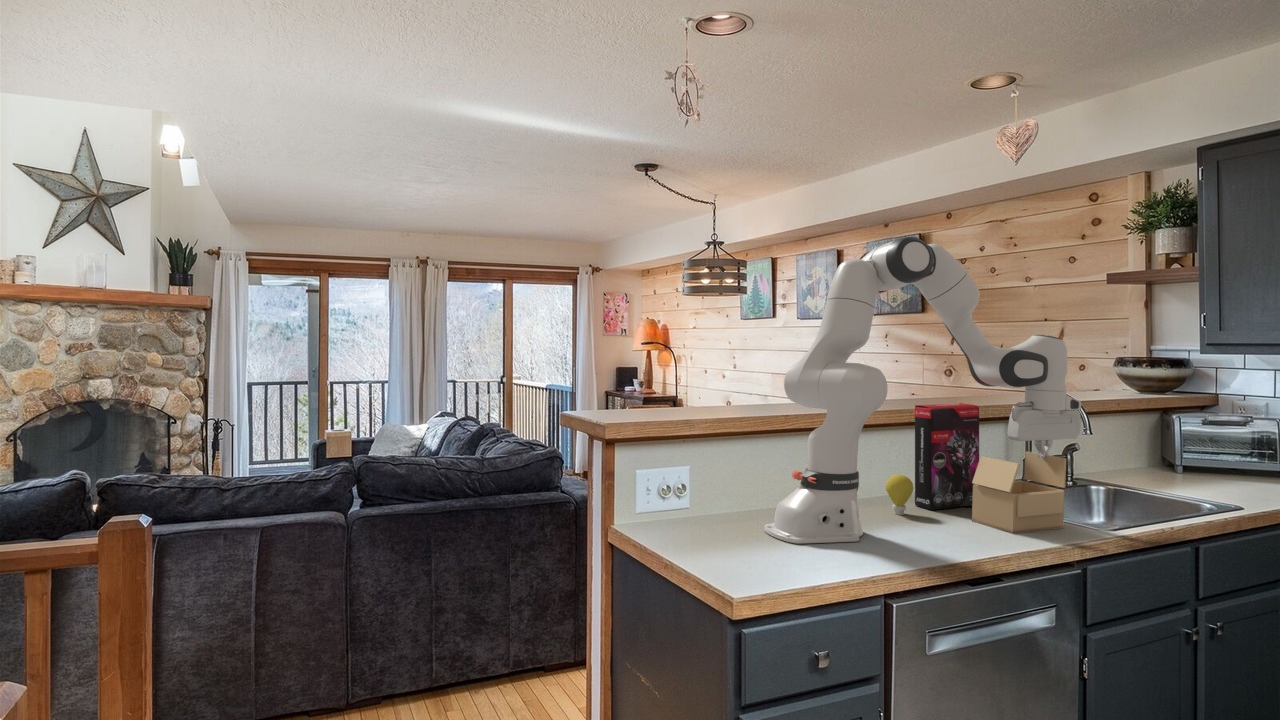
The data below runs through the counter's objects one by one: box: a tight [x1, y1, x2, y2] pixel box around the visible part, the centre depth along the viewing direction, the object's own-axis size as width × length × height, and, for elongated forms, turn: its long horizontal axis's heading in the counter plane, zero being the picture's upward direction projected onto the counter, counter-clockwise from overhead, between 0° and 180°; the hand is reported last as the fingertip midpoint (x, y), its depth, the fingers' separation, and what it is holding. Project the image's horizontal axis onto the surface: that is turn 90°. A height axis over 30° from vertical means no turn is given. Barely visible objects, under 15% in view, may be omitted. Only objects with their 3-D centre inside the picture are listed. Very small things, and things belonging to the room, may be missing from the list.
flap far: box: [1024, 451, 1067, 488], centre depth 178 cm, size 1×11×7 cm, turn 21°
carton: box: [971, 480, 1065, 535], centre depth 176 cm, size 16×13×9 cm
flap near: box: [972, 455, 1021, 493], centre depth 173 cm, size 1×11×7 cm, turn 22°
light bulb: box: [885, 473, 914, 516], centre depth 185 cm, size 7×7×10 cm
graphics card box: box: [914, 402, 980, 511], centre depth 194 cm, size 17×7×27 cm, turn 112°
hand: (1042, 458), depth 178 cm, fingers closed, pressing on flap far
